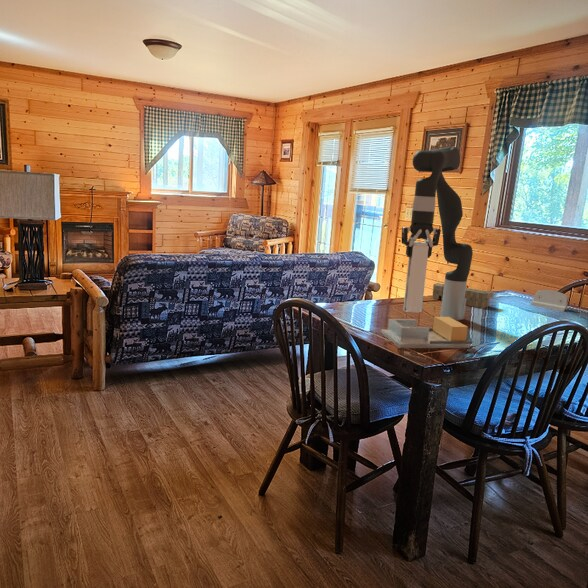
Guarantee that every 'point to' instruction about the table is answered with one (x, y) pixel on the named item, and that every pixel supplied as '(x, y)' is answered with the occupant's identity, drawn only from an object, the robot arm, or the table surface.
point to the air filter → (416, 277)
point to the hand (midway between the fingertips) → (418, 257)
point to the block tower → (466, 296)
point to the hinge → (550, 300)
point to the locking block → (450, 329)
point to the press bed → (418, 336)
